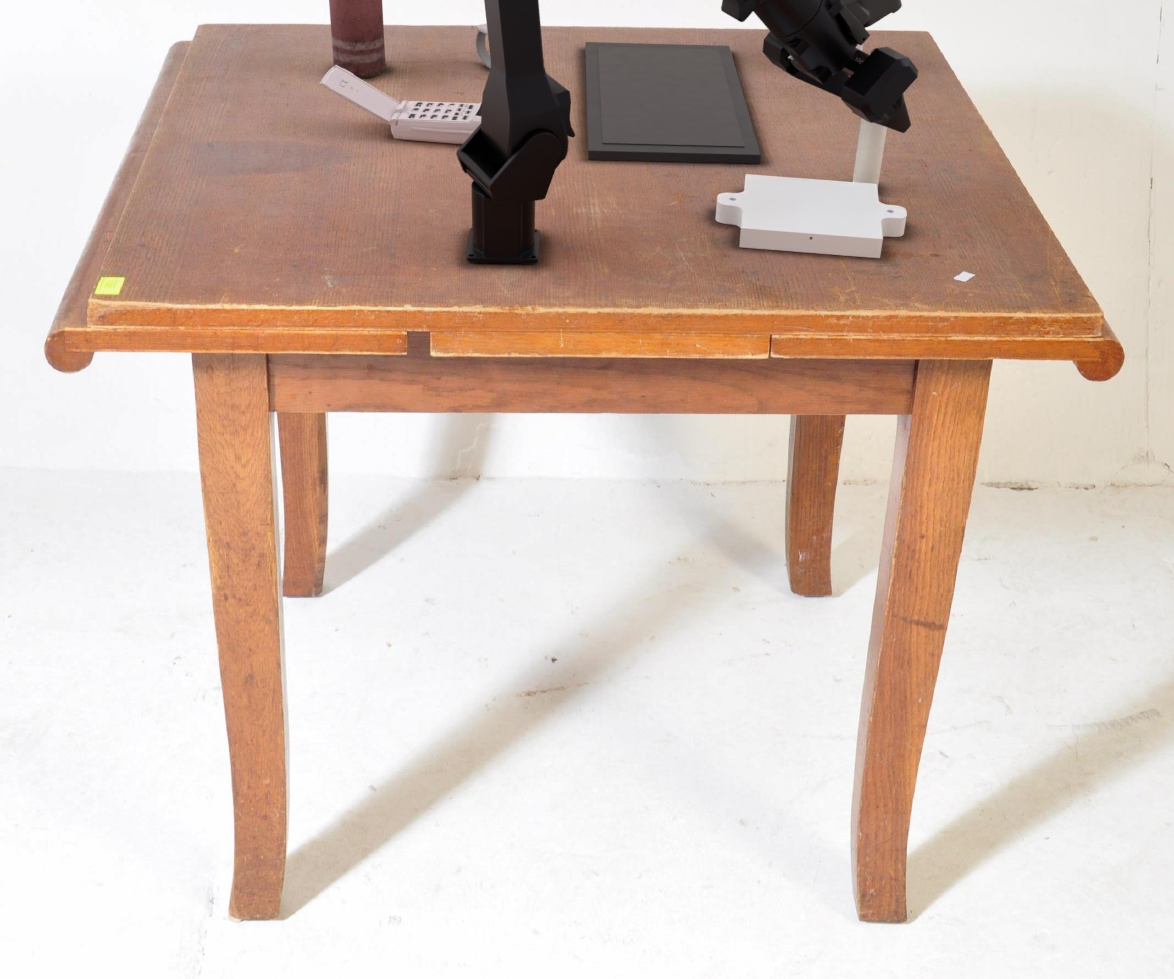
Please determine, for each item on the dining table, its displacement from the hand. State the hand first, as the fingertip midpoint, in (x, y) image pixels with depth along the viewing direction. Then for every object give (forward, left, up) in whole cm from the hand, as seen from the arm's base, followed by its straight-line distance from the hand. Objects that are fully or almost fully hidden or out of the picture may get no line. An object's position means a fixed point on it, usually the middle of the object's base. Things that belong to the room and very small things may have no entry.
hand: (879, 112), depth 141 cm
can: (+32, +55, -8) cm, 64 cm away
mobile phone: (+12, +44, -8) cm, 46 cm away
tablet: (+24, +19, -8) cm, 32 cm away
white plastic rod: (0, 0, -8) cm, 8 cm away
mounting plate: (-9, +7, -8) cm, 14 cm away
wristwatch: (+34, +39, -8) cm, 53 cm away
